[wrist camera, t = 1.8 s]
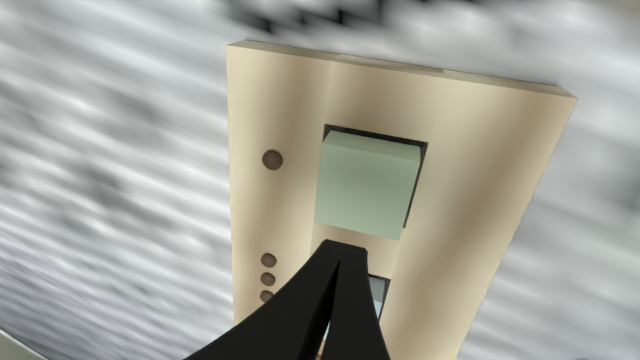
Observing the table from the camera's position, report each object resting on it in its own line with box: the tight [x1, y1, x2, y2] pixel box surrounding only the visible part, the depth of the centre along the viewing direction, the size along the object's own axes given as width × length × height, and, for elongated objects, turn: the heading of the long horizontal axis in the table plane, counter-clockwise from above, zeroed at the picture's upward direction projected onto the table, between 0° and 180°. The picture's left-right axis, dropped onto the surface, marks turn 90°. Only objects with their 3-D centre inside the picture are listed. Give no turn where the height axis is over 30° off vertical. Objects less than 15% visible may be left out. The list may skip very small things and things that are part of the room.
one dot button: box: [314, 130, 420, 241], centre depth 16 cm, size 4×4×2 cm
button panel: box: [226, 40, 578, 360], centre depth 21 cm, size 14×26×2 cm, turn 174°
